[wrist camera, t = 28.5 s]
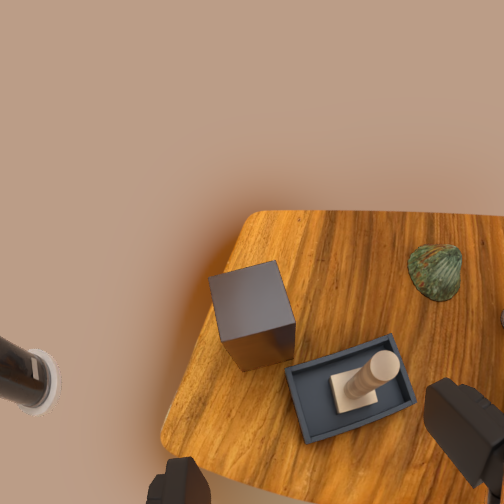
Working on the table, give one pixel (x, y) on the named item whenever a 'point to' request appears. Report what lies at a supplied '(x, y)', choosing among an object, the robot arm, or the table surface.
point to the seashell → (436, 270)
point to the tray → (320, 399)
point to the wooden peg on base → (362, 382)
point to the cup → (502, 318)
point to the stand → (254, 315)
